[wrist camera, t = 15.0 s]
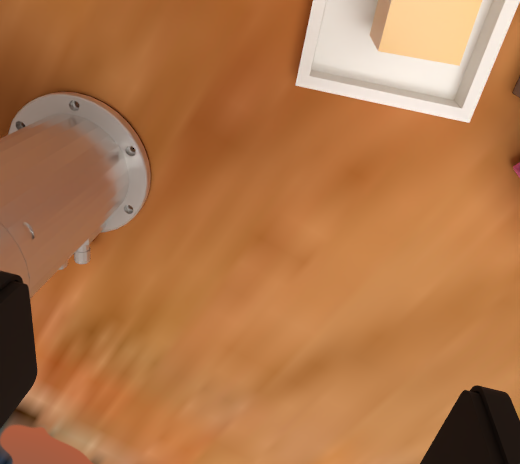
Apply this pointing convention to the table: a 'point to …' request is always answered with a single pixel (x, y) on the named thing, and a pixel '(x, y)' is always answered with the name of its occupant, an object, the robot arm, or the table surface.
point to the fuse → (424, 28)
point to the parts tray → (398, 60)
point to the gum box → (517, 169)
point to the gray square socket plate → (517, 88)
